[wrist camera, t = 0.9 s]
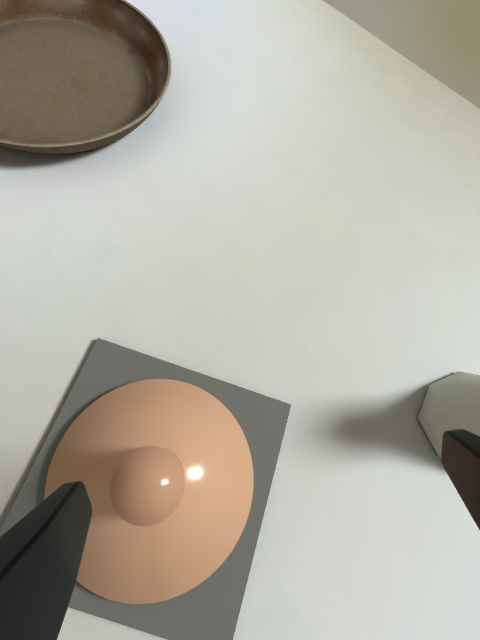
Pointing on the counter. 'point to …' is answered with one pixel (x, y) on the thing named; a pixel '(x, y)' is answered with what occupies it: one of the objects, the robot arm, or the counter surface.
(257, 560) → the counter surface
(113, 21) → the plant saucer
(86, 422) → the terracotta lid
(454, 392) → the flask
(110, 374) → the rubber mat
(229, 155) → the counter surface
